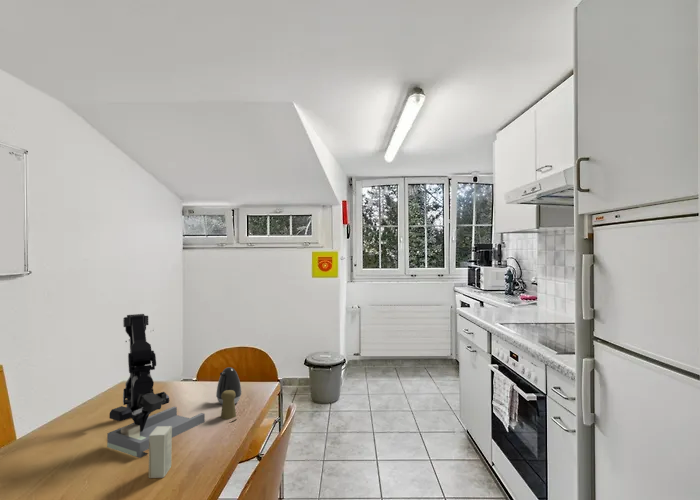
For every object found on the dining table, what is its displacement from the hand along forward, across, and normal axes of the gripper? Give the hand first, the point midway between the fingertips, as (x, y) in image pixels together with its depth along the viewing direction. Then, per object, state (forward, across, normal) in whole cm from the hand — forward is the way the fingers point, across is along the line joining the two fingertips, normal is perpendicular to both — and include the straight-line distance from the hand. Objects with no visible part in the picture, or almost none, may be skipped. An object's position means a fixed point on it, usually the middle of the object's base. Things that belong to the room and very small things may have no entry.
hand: (140, 431), depth 137 cm
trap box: (+3, +4, -4) cm, 6 cm away
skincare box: (+3, -12, -24) cm, 27 cm away
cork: (+3, +25, -16) cm, 30 cm away
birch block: (+1, -4, 0) cm, 4 cm away
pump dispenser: (+3, +38, -4) cm, 39 cm away
